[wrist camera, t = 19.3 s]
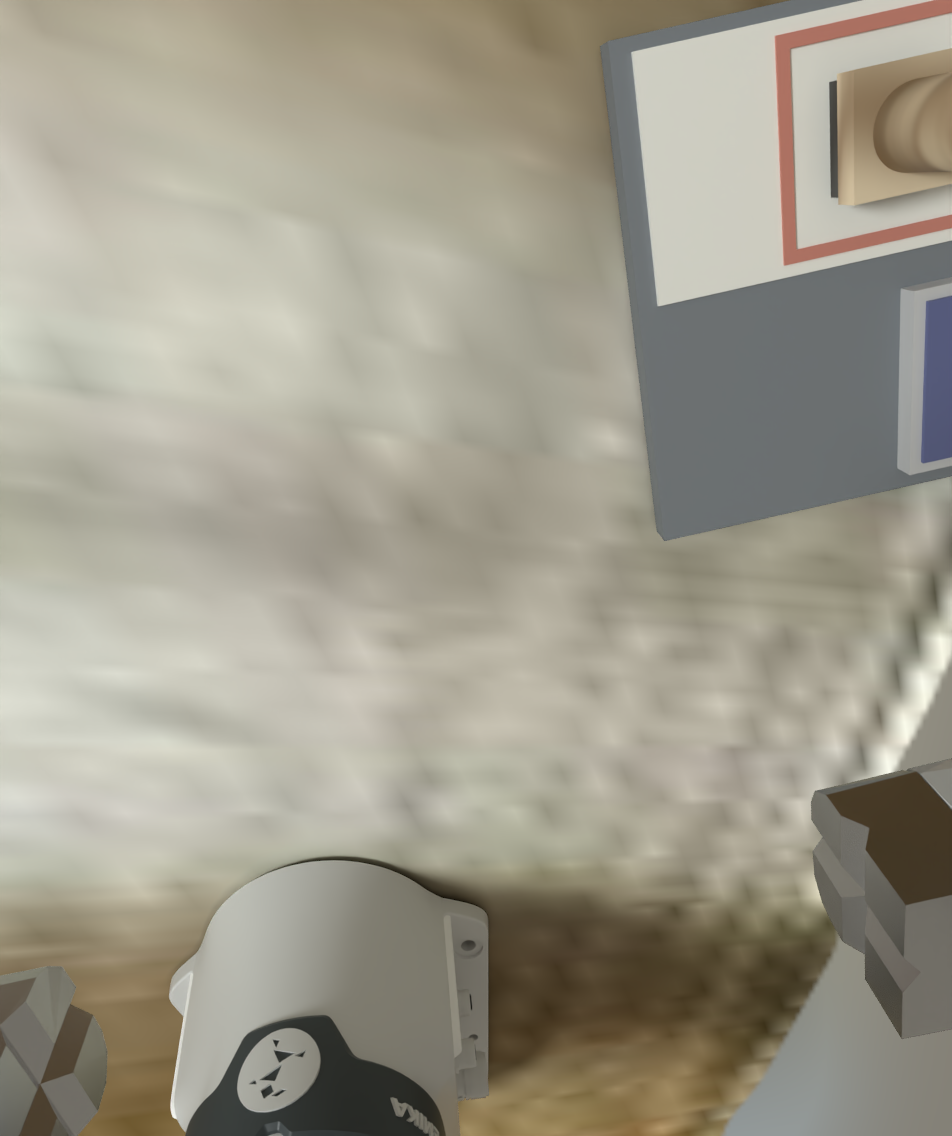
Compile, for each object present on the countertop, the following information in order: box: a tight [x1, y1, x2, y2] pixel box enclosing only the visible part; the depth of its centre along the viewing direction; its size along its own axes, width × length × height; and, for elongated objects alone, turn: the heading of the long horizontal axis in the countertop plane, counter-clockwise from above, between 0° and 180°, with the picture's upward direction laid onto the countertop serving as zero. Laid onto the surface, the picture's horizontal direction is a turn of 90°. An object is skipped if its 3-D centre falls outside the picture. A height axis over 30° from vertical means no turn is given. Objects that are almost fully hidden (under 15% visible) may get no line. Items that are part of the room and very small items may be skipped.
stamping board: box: [600, 0, 952, 541], centre depth 34 cm, size 20×20×2 cm
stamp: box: [829, 48, 952, 205], centre depth 28 cm, size 4×4×8 cm
